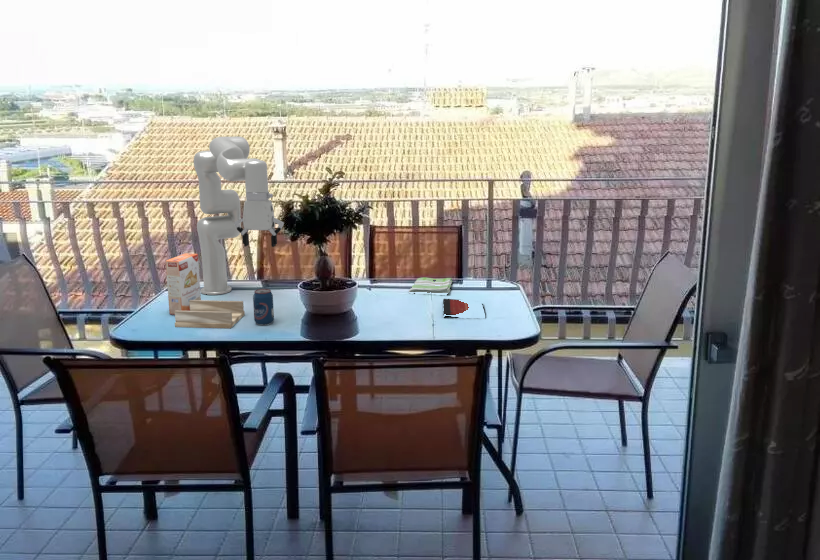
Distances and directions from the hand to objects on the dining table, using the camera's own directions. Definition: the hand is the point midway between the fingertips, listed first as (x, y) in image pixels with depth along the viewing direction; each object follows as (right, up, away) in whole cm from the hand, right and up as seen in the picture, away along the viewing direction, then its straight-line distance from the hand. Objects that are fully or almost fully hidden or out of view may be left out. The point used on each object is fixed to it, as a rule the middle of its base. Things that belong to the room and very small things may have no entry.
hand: (260, 246), depth 227 cm
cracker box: (-33, -24, +22) cm, 46 cm away
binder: (+73, -24, +23) cm, 80 cm away
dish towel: (+62, -16, +55) cm, 84 cm away
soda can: (0, -27, +7) cm, 28 cm away
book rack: (-20, -27, +9) cm, 35 cm away
